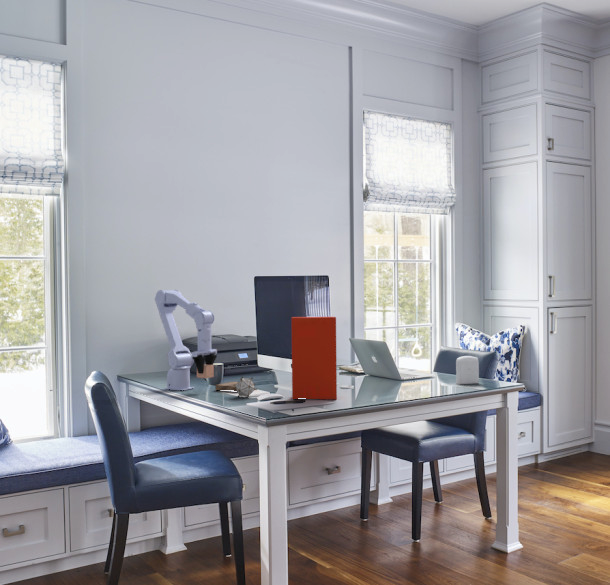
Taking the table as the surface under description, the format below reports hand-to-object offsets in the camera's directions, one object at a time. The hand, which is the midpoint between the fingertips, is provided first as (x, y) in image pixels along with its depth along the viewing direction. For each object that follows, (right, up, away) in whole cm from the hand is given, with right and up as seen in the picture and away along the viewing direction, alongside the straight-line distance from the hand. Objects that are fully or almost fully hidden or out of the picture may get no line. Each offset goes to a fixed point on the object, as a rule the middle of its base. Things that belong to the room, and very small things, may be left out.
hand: (204, 372), depth 304 cm
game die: (+18, -9, -13) cm, 24 cm away
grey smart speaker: (+114, -7, +19) cm, 116 cm away
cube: (0, -2, 0) cm, 2 cm away
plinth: (+12, -8, +7) cm, 16 cm away
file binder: (+45, -9, -17) cm, 49 cm away
